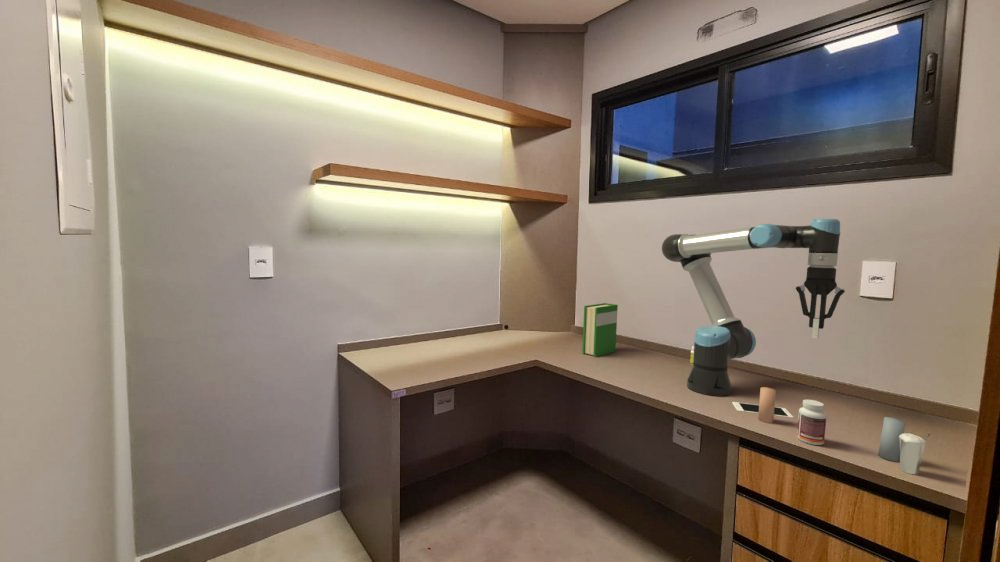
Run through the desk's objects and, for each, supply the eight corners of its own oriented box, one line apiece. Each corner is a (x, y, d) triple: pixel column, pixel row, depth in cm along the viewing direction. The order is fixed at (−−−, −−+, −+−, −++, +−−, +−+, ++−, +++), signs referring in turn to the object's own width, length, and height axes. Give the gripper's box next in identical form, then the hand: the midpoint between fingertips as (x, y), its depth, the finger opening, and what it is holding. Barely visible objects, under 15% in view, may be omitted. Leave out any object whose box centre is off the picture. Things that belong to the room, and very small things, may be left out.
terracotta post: (756, 420, 128) (759, 389, 127) (759, 416, 130) (762, 386, 130) (771, 424, 125) (774, 392, 124) (774, 420, 128) (777, 389, 127)
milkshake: (930, 478, 97) (935, 438, 96) (901, 473, 98) (906, 433, 98) (919, 469, 101) (924, 430, 100) (891, 464, 103) (896, 426, 102)
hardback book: (594, 357, 196) (596, 307, 194) (582, 354, 202) (584, 305, 199) (615, 351, 208) (617, 304, 206) (603, 348, 213) (605, 303, 211)
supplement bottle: (691, 362, 190) (692, 345, 189) (702, 364, 187) (703, 346, 186) (688, 365, 186) (689, 347, 186) (699, 367, 184) (700, 348, 183)
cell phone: (731, 403, 142) (731, 401, 142) (785, 409, 137) (785, 408, 137) (737, 412, 135) (737, 410, 135) (793, 419, 130) (794, 417, 130)
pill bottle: (829, 446, 112) (833, 407, 111) (806, 445, 112) (810, 406, 111) (813, 435, 118) (816, 398, 117) (791, 435, 118) (794, 398, 117)
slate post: (879, 457, 105) (885, 420, 105) (877, 451, 109) (882, 415, 108) (901, 463, 103) (907, 425, 102) (897, 457, 106) (903, 420, 106)
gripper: (795, 265, 135) (789, 336, 137) (846, 268, 126) (839, 343, 128) (799, 265, 141) (793, 332, 143) (848, 267, 132) (841, 339, 134)
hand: (815, 337), depth 136 cm, fingers closed
